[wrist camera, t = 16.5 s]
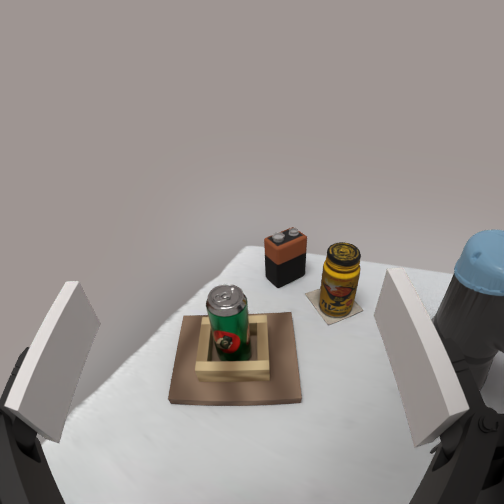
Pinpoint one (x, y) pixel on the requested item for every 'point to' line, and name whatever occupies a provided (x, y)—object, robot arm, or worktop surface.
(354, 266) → the condiment
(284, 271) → the battery
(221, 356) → the soda can
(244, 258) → the worktop surface
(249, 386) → the collar board
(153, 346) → the worktop surface
